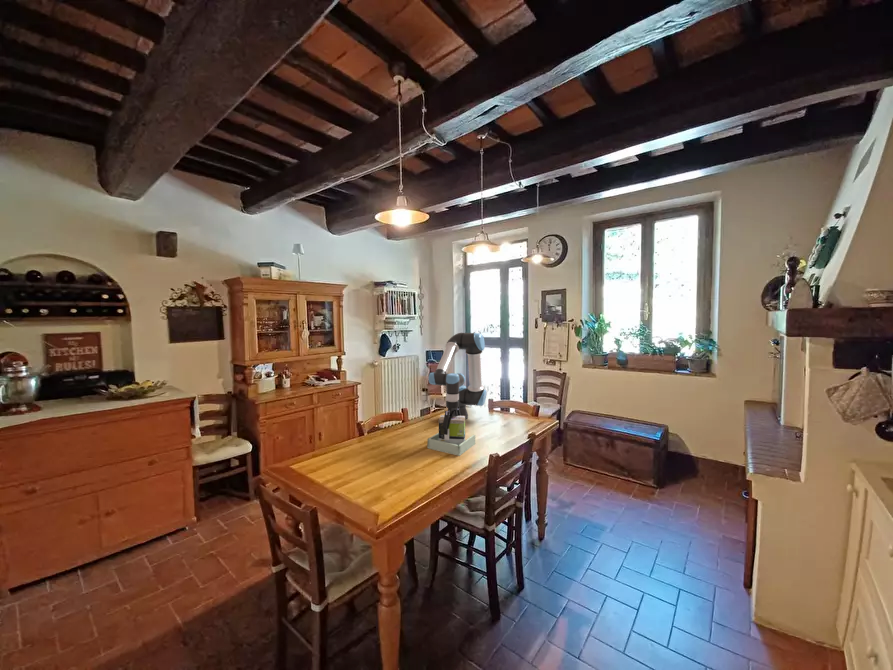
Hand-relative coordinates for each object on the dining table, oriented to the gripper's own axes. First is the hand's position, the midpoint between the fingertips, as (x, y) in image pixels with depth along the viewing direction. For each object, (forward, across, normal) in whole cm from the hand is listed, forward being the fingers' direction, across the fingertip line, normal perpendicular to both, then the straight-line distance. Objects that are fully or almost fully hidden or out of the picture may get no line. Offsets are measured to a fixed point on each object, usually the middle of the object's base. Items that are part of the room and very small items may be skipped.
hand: (452, 436), depth 215 cm
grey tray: (+6, +1, 0) cm, 6 cm away
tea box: (+4, 0, 0) cm, 4 cm away
